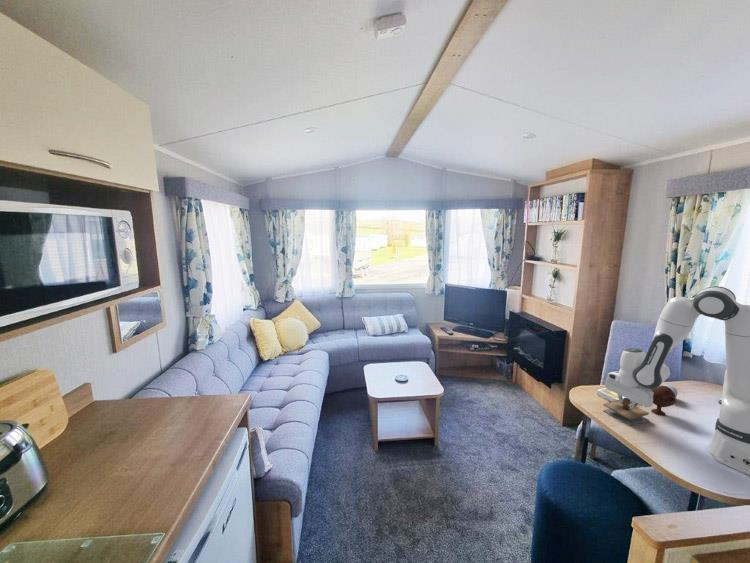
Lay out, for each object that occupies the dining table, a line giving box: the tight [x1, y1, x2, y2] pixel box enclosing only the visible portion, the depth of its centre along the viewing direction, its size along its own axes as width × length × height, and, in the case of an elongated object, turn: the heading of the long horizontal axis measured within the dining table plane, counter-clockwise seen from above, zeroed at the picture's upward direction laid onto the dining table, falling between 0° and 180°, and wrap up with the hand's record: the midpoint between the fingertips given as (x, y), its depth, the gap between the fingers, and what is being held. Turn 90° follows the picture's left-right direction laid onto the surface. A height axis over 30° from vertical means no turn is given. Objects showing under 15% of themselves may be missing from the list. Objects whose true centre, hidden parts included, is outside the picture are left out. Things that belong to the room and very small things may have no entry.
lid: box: [602, 398, 650, 420], centre depth 153 cm, size 13×13×6 cm
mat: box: [602, 408, 649, 427], centre depth 154 cm, size 13×13×1 cm
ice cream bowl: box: [651, 385, 677, 417], centre depth 155 cm, size 11×11×15 cm
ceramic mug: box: [661, 384, 678, 400], centre depth 169 cm, size 11×8×8 cm
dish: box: [596, 387, 632, 403], centre depth 170 cm, size 12×12×3 cm
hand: (626, 405), depth 154 cm, fingers closed on lid, 3 cm apart
